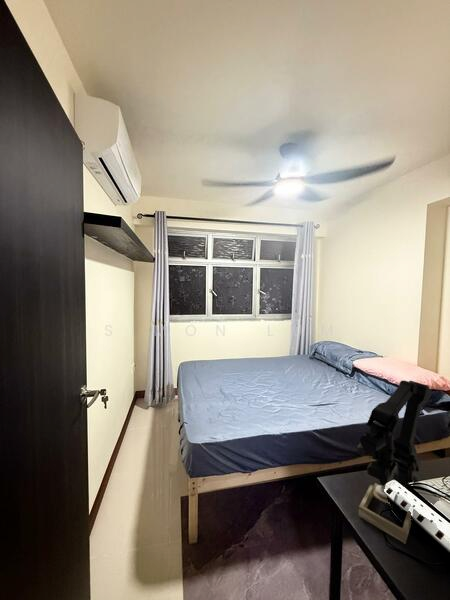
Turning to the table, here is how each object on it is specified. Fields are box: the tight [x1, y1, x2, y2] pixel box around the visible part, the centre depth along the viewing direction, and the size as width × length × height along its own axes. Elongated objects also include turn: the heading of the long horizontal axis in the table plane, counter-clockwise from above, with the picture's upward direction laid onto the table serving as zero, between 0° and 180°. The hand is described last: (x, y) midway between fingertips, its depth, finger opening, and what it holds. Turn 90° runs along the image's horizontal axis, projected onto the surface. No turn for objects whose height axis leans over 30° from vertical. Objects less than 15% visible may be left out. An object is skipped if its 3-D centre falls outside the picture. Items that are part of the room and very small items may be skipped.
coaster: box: [372, 482, 391, 506], centre depth 93 cm, size 7×7×1 cm
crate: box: [358, 484, 413, 545], centre depth 85 cm, size 13×13×4 cm
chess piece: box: [375, 484, 387, 498], centre depth 93 cm, size 5×5×10 cm
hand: (383, 483), depth 93 cm, fingers open, 2 cm apart
